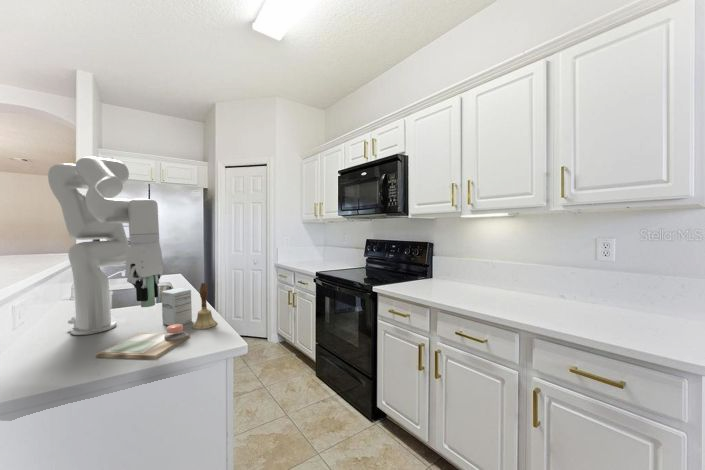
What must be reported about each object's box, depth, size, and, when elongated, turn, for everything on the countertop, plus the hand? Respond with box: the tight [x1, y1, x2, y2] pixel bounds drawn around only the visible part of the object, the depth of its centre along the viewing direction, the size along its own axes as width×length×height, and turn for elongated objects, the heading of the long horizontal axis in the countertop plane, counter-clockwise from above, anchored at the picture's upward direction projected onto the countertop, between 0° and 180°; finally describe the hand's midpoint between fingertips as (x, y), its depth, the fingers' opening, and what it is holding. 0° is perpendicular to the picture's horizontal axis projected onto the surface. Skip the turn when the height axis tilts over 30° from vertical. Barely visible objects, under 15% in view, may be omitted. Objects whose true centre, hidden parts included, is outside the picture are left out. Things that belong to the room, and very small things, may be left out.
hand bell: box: [192, 282, 218, 330], centre depth 113 cm, size 8×8×16 cm
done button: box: [166, 324, 184, 333], centre depth 99 cm, size 5×5×1 cm
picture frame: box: [95, 330, 191, 360], centre depth 95 cm, size 18×16×2 cm
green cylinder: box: [139, 275, 156, 308], centre depth 94 cm, size 4×4×11 cm
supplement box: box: [161, 287, 193, 326], centre depth 116 cm, size 7×7×13 cm
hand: (147, 298), depth 94 cm, fingers closed on green cylinder, 3 cm apart
